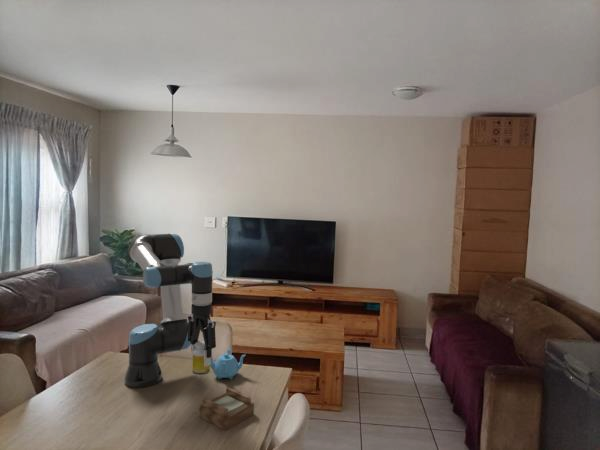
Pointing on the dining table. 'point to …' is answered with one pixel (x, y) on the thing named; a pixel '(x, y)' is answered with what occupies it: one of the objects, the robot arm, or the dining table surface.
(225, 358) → the teapot
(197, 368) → the pill bottle
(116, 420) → the dining table surface
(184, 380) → the dining table surface
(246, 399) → the wooden tray
